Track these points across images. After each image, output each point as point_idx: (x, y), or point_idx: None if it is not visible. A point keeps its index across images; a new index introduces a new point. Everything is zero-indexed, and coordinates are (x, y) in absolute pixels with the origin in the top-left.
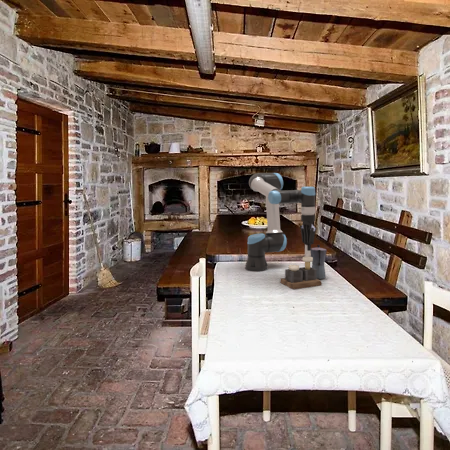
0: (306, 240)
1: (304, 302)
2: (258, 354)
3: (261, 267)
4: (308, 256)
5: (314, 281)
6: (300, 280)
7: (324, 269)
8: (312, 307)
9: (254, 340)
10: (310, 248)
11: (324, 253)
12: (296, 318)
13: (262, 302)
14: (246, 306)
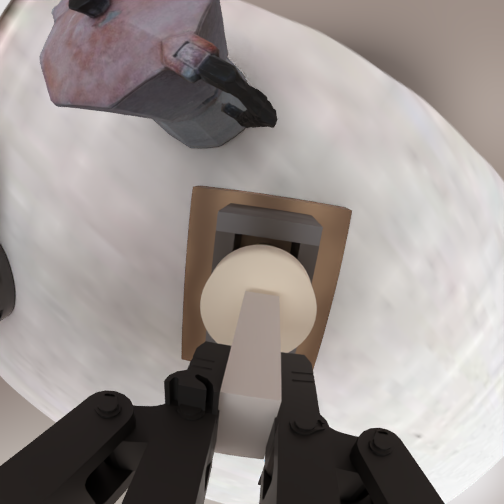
0: (201, 499)
1: (424, 402)
2: (452, 495)
3: (3, 289)
4: (222, 269)
5: (333, 253)
6: None
7: (231, 63)
8: (457, 400)
9: None
10: (311, 380)
11: (220, 10)
12: (451, 448)
13: None
14: None
